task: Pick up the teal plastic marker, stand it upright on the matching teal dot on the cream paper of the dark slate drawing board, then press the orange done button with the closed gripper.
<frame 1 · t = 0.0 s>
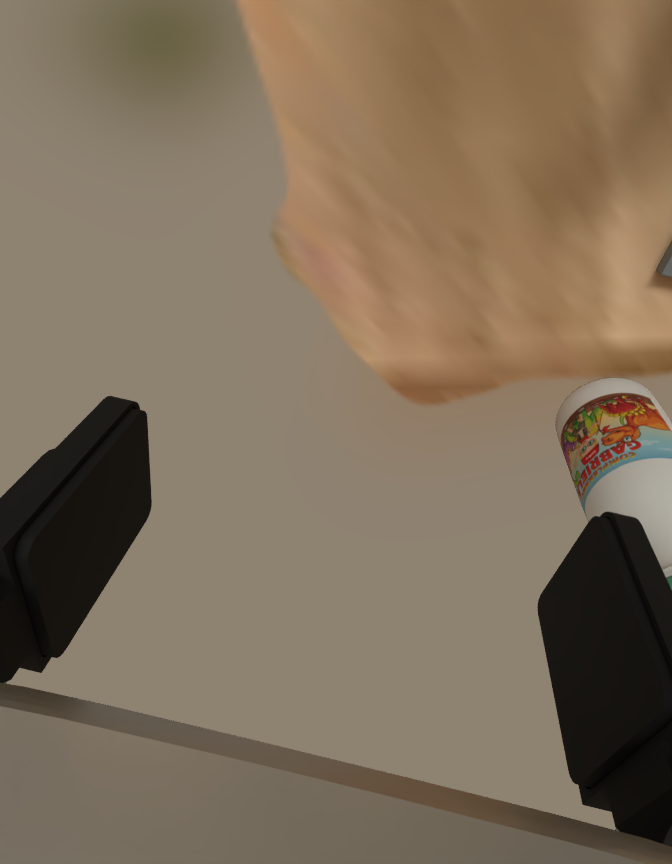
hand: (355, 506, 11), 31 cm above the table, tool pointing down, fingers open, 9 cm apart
milk bottle: (602, 413, 44), on the table
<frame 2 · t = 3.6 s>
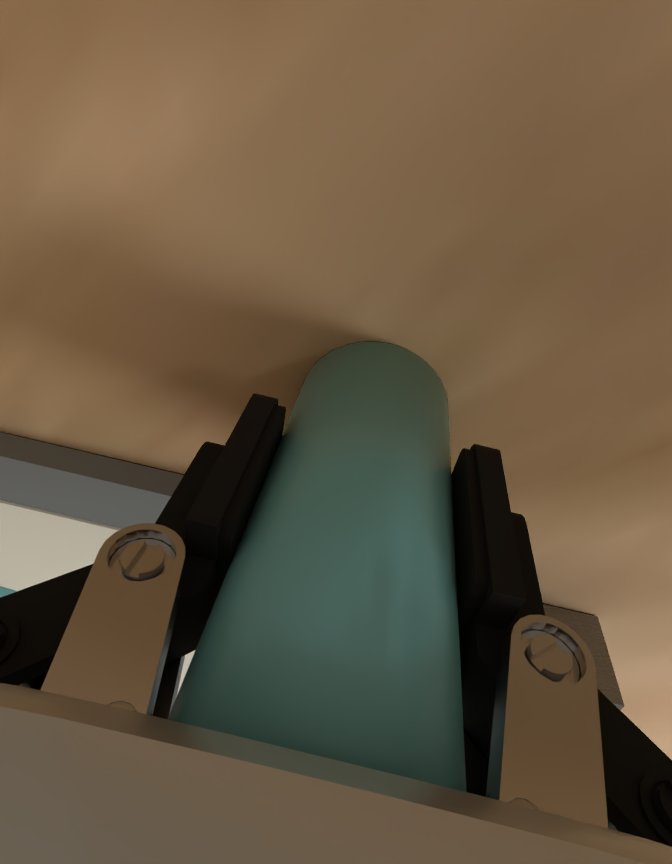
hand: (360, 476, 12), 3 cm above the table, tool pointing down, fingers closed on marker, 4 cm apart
button housing: (445, 653, 20), on the table
drawing board: (95, 599, 21), on the table
marker: (372, 409, 14), on the table, touching gripper
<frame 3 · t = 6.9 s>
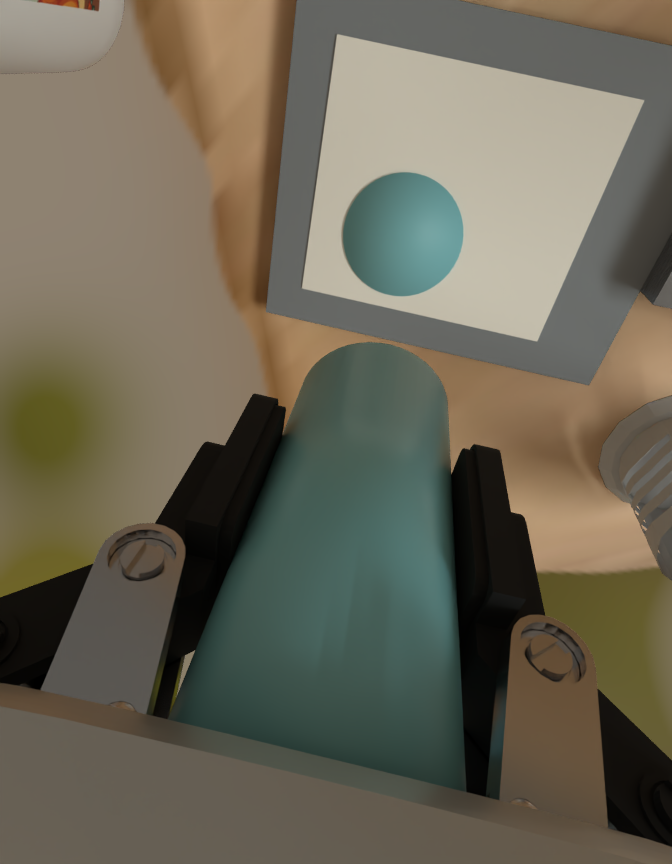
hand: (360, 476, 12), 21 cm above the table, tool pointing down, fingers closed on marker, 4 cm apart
drawing board: (467, 206, 28), on the table
marker: (372, 410, 14), point 18 cm above the table, touching gripper
when the fingers open (5 cm above the table, at t = 10.2 s): marker drops 1 cm, resting on drawing board.
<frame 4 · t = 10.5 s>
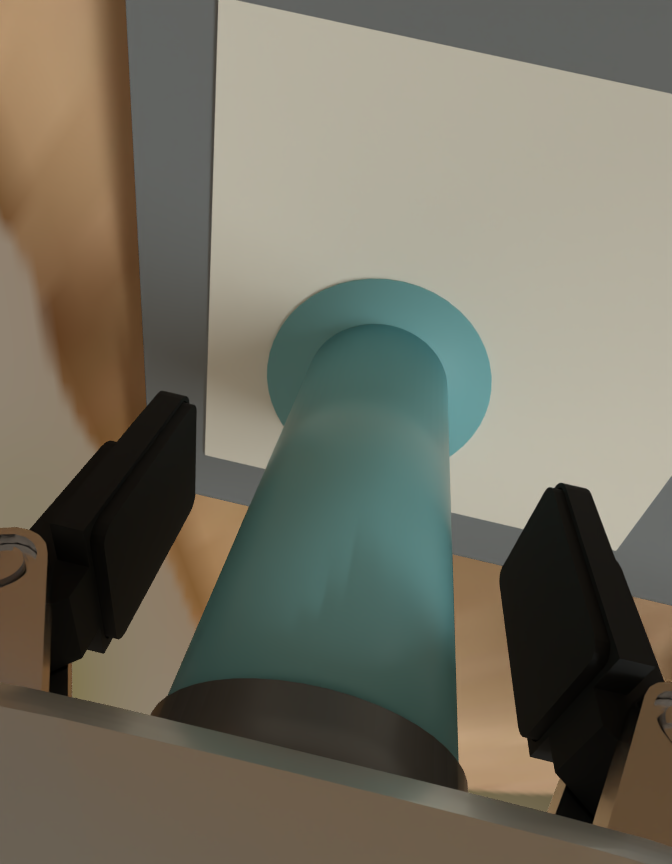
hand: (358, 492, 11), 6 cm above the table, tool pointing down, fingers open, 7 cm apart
drawing board: (498, 332, 15), on the table
marker: (375, 389, 15), point 1 cm above the table, touching drawing board
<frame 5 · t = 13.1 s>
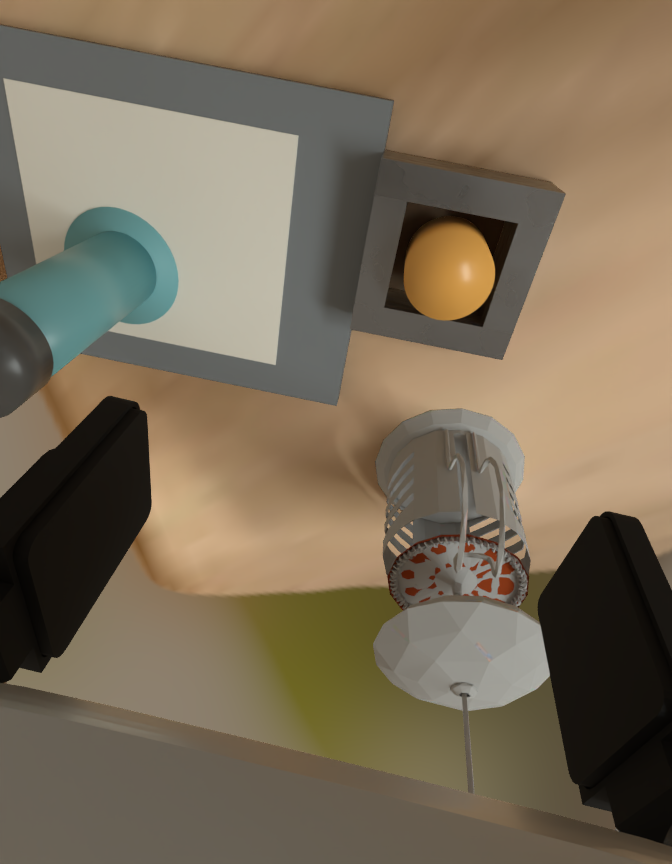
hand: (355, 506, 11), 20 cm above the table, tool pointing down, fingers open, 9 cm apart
button housing: (444, 250, 27), on the table
done button: (447, 268, 25), point 3 cm above the table, slide at 0.0 cm
drawing board: (181, 237, 28), on the table
french press: (450, 458, 35), on the table
marker: (121, 269, 29), point 1 cm above the table, touching drawing board
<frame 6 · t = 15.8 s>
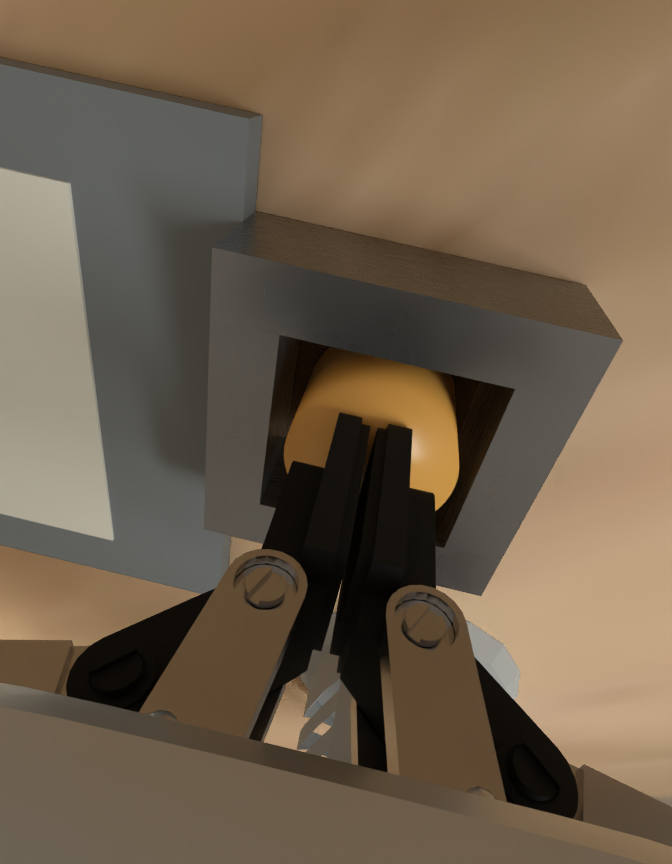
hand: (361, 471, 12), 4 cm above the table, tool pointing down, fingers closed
button housing: (381, 389, 15), on the table
done button: (375, 428, 13), point 2 cm above the table, slide at 1.0 cm, touching gripper
french press: (406, 660, 23), on the table
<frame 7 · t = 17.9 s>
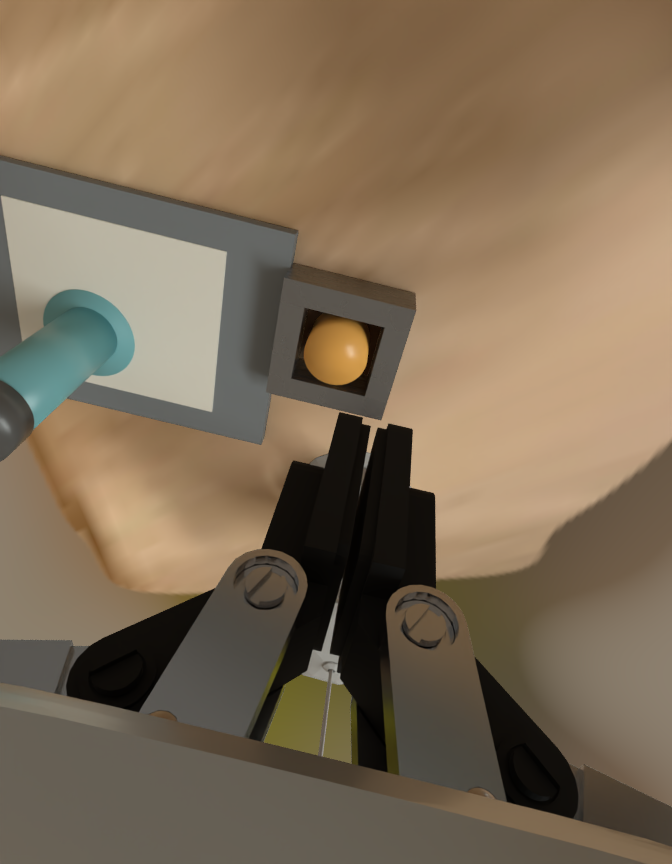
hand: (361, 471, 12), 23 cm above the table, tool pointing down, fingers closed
button housing: (340, 334, 35), on the table
done button: (337, 346, 34), point 2 cm above the table, slide at 1.1 cm
drawing board: (138, 312, 36), on the table
french press: (354, 487, 43), on the table
marker: (88, 334, 36), point 1 cm above the table, touching drawing board
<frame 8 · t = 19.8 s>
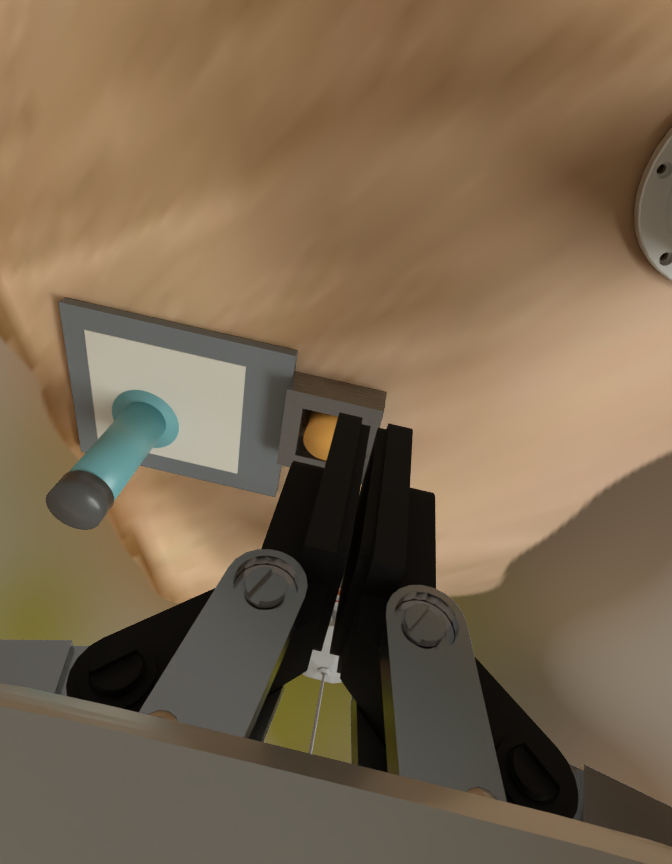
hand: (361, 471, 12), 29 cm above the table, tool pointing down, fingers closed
button housing: (332, 419, 47), on the table
done button: (329, 431, 45), point 2 cm above the table, slide at 1.1 cm
drawing board: (181, 403, 48), on the table
french press: (349, 527, 54), on the table
marker: (145, 420, 48), point 1 cm above the table, touching drawing board
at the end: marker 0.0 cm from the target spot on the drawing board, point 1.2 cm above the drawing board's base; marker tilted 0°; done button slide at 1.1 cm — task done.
